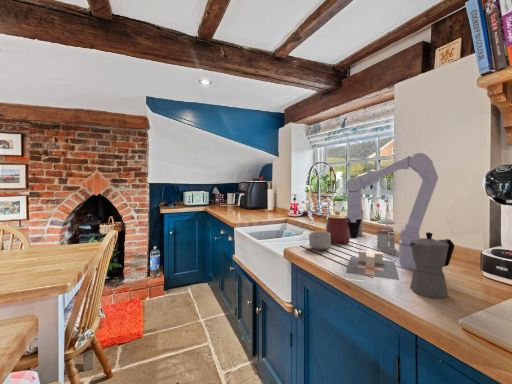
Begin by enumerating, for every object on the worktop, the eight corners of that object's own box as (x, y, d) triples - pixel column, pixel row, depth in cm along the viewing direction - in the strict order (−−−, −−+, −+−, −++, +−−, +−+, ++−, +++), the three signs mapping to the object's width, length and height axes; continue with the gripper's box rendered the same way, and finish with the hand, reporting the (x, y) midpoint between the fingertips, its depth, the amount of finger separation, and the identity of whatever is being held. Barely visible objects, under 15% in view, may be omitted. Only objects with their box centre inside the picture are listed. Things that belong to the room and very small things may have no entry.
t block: (382, 262, 101) (382, 252, 101) (383, 268, 93) (383, 258, 93) (358, 259, 105) (358, 250, 105) (357, 265, 97) (357, 255, 97)
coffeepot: (423, 301, 68) (424, 236, 68) (397, 287, 77) (398, 230, 77) (468, 295, 71) (469, 234, 71) (438, 283, 80) (439, 228, 80)
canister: (321, 241, 142) (321, 210, 141) (333, 237, 150) (333, 209, 150) (342, 245, 132) (342, 212, 131) (353, 241, 141) (353, 210, 140)
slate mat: (394, 262, 102) (394, 261, 102) (399, 281, 82) (399, 279, 82) (350, 257, 109) (350, 256, 109) (345, 273, 90) (345, 272, 90)
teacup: (331, 252, 118) (331, 235, 118) (308, 251, 121) (308, 234, 120) (329, 245, 132) (329, 230, 132) (308, 244, 134) (308, 229, 134)
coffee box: (346, 234, 160) (346, 209, 159) (348, 232, 165) (348, 209, 165) (361, 235, 155) (361, 210, 154) (363, 234, 160) (363, 209, 160)
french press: (371, 249, 123) (371, 199, 122) (381, 245, 130) (381, 198, 130) (392, 253, 115) (393, 200, 115) (401, 249, 123) (401, 199, 122)
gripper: (346, 204, 116) (346, 233, 116) (342, 207, 103) (343, 239, 103) (362, 204, 113) (362, 234, 113) (361, 207, 100) (361, 240, 100)
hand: (354, 236), depth 108 cm, fingers open, 7 cm apart
